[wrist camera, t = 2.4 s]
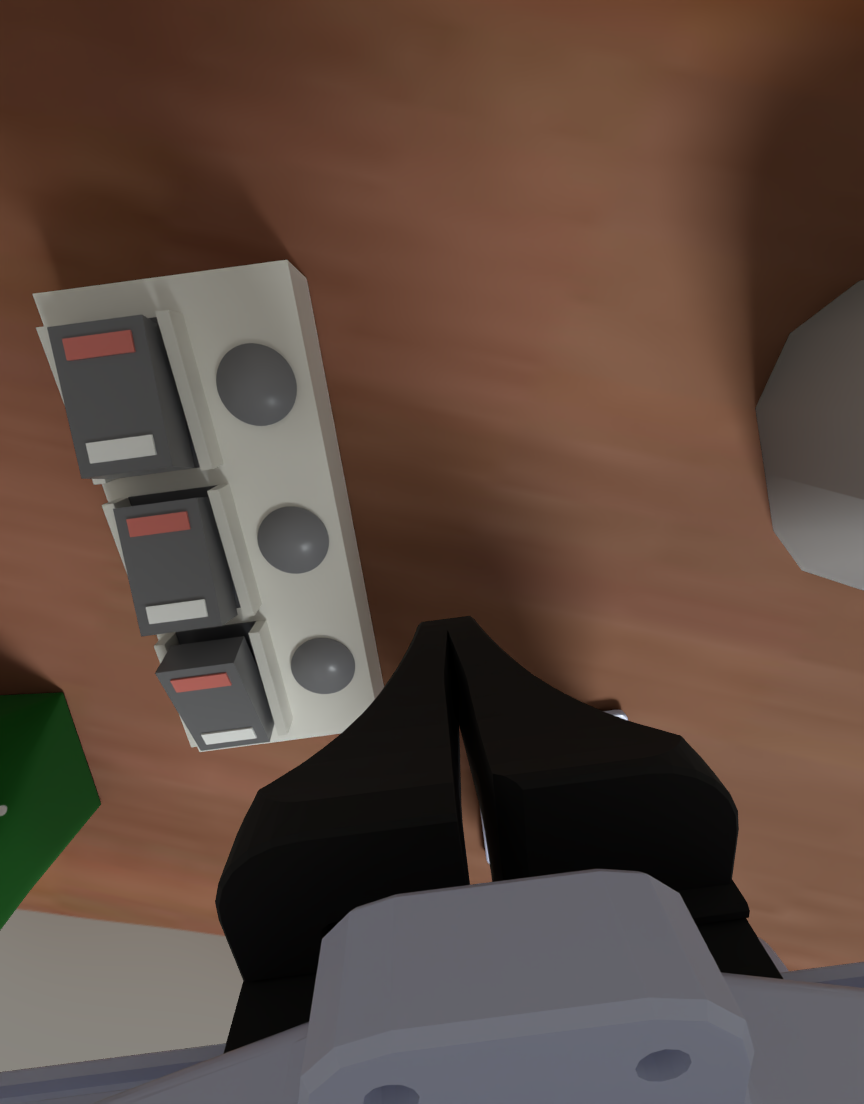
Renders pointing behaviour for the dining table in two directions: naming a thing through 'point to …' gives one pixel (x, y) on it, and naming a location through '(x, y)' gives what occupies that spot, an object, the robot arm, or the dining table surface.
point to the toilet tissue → (819, 441)
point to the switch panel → (256, 479)
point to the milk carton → (38, 790)
